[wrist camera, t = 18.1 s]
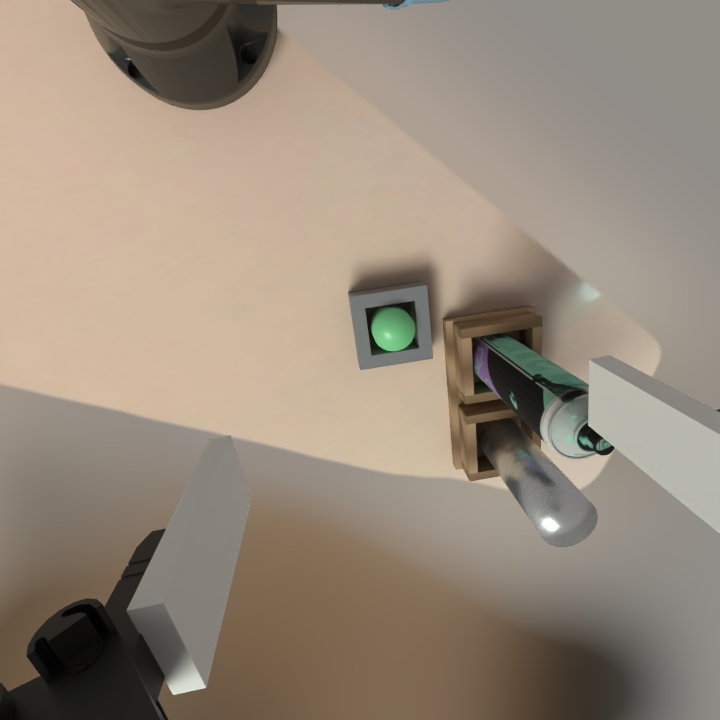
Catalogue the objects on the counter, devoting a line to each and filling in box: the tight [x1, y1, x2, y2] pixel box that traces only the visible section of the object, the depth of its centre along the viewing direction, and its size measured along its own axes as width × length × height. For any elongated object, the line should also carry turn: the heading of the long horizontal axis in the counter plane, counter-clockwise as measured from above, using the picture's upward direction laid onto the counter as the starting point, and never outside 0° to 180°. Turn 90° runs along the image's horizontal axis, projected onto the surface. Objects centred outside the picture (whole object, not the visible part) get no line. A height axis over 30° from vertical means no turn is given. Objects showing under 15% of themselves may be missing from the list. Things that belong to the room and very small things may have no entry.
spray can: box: [472, 333, 615, 459], centre depth 37 cm, size 6×6×20 cm
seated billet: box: [476, 418, 598, 547], centre depth 42 cm, size 5×5×16 cm
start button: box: [370, 304, 415, 351], centre depth 44 cm, size 4×4×3 cm
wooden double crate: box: [443, 306, 542, 481], centre depth 47 cm, size 19×10×4 cm, turn 8°
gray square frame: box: [348, 282, 433, 370], centre depth 44 cm, size 8×8×2 cm
